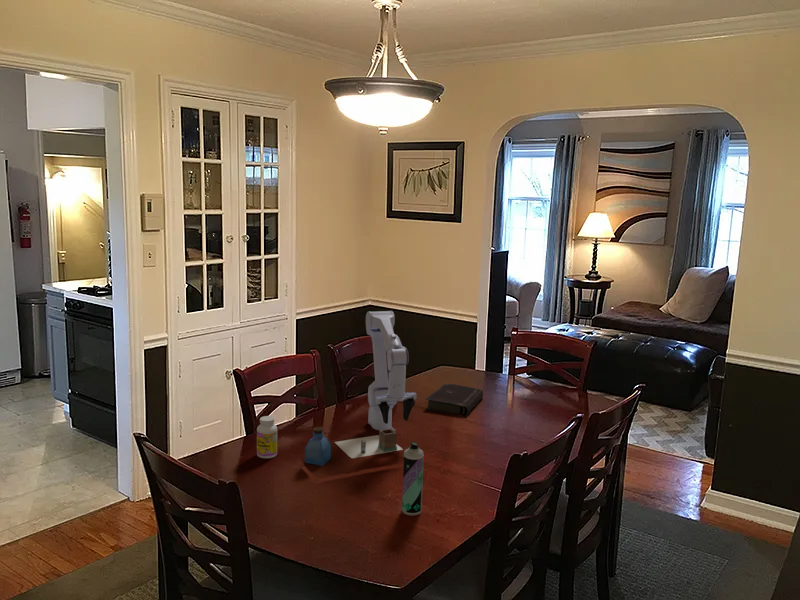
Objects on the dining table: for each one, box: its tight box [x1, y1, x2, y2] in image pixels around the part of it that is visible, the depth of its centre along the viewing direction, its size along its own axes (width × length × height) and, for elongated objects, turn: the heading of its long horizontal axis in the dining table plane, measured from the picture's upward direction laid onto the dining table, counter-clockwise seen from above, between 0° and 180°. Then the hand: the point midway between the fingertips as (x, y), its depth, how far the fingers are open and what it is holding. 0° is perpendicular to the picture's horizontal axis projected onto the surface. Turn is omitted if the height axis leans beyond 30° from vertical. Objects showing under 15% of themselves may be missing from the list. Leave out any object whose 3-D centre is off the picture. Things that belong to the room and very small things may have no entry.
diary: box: [425, 383, 484, 417], centre depth 282 cm, size 19×25×5 cm
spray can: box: [401, 442, 425, 516], centre depth 188 cm, size 6×6×20 cm
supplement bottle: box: [256, 415, 278, 459], centre depth 223 cm, size 7×7×13 cm
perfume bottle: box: [304, 426, 332, 466], centre depth 218 cm, size 6×6×12 cm
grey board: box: [334, 434, 404, 459], centre depth 232 cm, size 15×19×1 cm
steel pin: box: [361, 440, 366, 453], centre depth 226 cm, size 2×2×4 cm
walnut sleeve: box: [378, 428, 398, 453], centre depth 229 cm, size 5×5×6 cm
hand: (395, 421), depth 232 cm, fingers open, 7 cm apart
